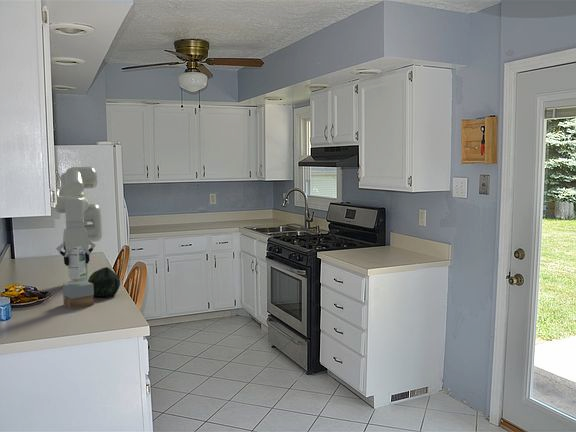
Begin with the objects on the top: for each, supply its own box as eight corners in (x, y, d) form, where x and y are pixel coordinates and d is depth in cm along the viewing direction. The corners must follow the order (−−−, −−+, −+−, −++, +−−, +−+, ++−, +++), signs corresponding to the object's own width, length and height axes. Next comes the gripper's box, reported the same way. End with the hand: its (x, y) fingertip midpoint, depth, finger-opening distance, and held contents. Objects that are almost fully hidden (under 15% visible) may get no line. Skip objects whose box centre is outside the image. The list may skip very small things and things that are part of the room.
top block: (63, 294, 238) (62, 283, 237) (85, 291, 244) (85, 280, 244) (71, 298, 230) (70, 287, 230) (93, 294, 237) (93, 283, 237)
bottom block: (63, 305, 239) (63, 294, 238) (86, 301, 245) (85, 291, 244) (70, 309, 231) (70, 298, 230) (93, 306, 237) (93, 295, 237)
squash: (87, 281, 261) (87, 262, 251) (119, 280, 266) (120, 261, 256) (87, 305, 252) (87, 287, 241) (120, 304, 257) (121, 285, 247)
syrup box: (79, 278, 233) (78, 246, 232) (68, 278, 235) (66, 246, 233) (87, 276, 239) (85, 244, 238) (75, 275, 240) (74, 244, 239)
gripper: (92, 223, 243) (93, 260, 245) (52, 226, 232) (54, 265, 234) (97, 224, 237) (99, 263, 239) (57, 227, 226) (59, 268, 228)
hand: (77, 264), depth 236 cm, fingers closed on syrup box, 8 cm apart
